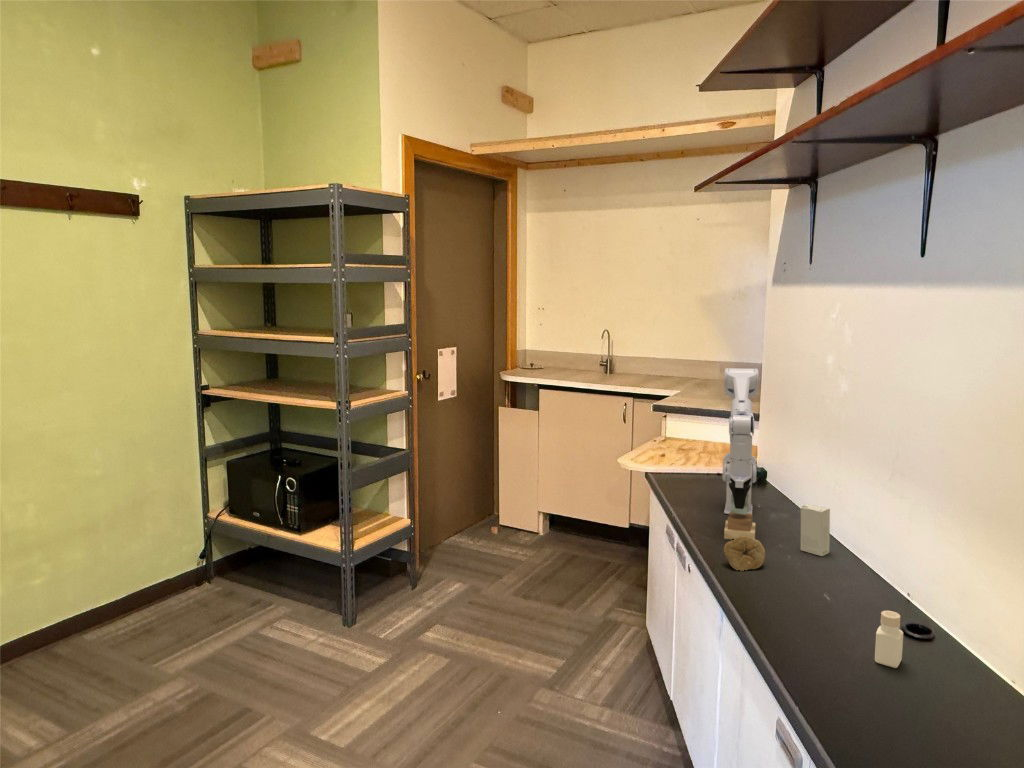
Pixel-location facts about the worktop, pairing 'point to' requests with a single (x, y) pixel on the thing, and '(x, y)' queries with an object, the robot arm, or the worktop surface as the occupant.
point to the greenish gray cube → (740, 511)
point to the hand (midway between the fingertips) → (739, 505)
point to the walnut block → (740, 521)
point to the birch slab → (738, 532)
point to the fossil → (744, 553)
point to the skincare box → (815, 529)
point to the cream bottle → (889, 640)
